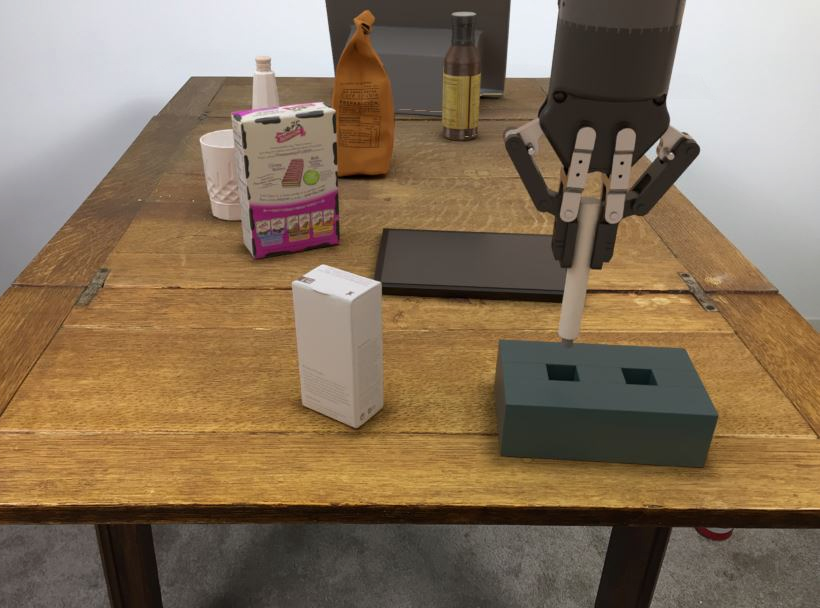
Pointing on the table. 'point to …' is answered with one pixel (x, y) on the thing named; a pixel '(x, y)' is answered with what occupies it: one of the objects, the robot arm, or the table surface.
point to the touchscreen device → (423, 44)
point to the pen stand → (602, 404)
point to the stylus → (579, 271)
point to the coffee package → (363, 106)
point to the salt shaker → (264, 85)
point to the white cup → (221, 174)
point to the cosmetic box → (339, 343)
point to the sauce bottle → (461, 80)
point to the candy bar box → (287, 177)
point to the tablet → (469, 265)
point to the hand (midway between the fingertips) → (579, 263)
